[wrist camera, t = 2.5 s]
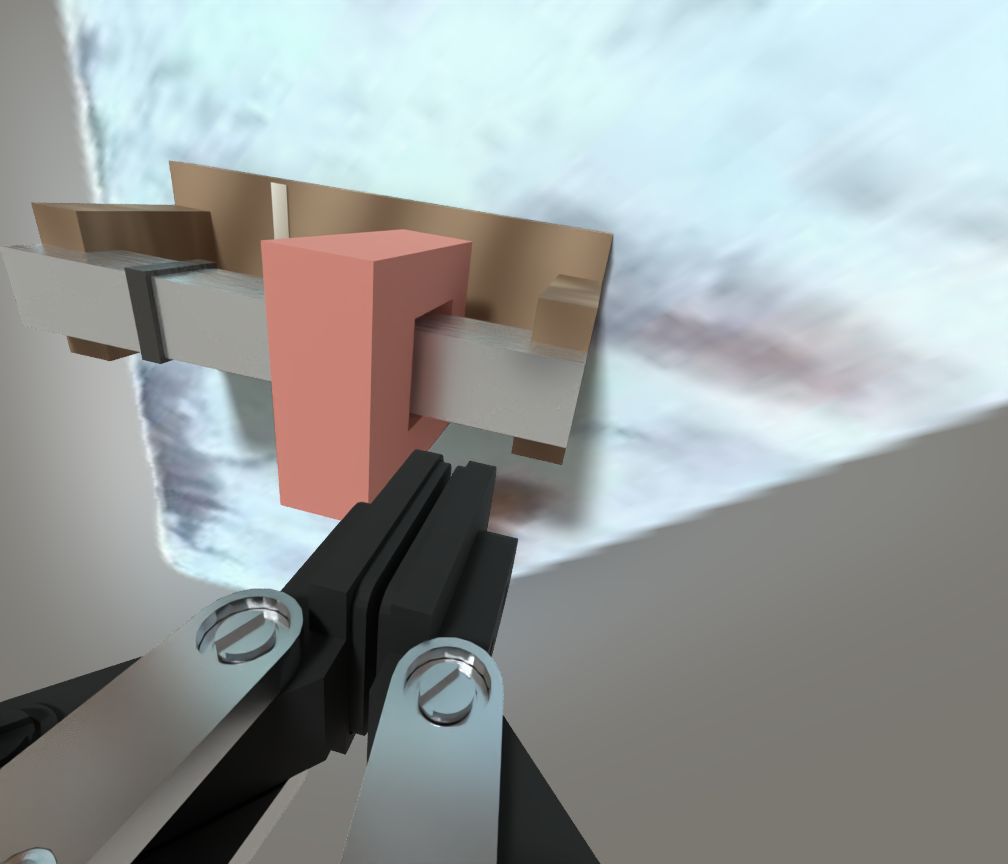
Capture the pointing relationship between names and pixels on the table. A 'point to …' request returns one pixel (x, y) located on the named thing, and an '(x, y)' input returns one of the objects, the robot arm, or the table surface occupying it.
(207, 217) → the pipe stand
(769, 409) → the table surface
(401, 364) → the salmon pink rectangular block
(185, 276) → the rod
